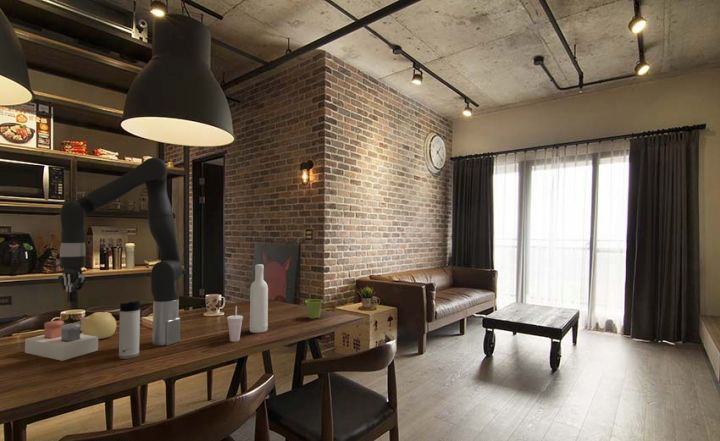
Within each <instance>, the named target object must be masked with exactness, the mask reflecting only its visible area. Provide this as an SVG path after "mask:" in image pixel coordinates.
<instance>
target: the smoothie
mask: <svg viewBox="0 0 720 441" xmlns="http://www.w3.org/2000/svg"><path fill="white" fill-rule="evenodd" d="M234 311H235V315H229V316H227V317H226V320H227V325H228V335H229V341H230V342H239V341H240V338H241V331H242V323H243V320H244V316H243V315H241V314H238V306H237V305H235V310H234Z"/></svg>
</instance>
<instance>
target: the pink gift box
mask: <svg viewBox="0 0 720 441" xmlns="http://www.w3.org/2000/svg"><path fill="white" fill-rule="evenodd" d="M62 325H65V324H64V320H51V321H47V322H44V335H45V336H44V338H48V339H53V338H57V337H61V326H62Z"/></svg>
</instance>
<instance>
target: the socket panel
mask: <svg viewBox="0 0 720 441" xmlns="http://www.w3.org/2000/svg"><path fill="white" fill-rule="evenodd" d="M44 336H45V334H41V335H37V336H34V337H28V338H25V340H24V353H25V354H29V355H34V356H39V357H43V358H49V359H52V360H57V361H58V360H59V361H61V362H62V361H66V360H70V359H73V358H76V357H77V358H78V357H80V356H83V355H86V354H90V353H93V352H94V353H95V352H96V351H99V350H98V349H99V339H98V337H95V336H89V335H84V333H83V334H82V333H80V339H78V340H74V341H70V342H64V341H61V337H57V338H53V339H48V338H44Z"/></svg>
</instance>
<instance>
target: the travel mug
mask: <svg viewBox="0 0 720 441" xmlns="http://www.w3.org/2000/svg"><path fill="white" fill-rule="evenodd" d="M140 306H141V301H140V300H136V301H135V300H134V301H128V302H125V303H124V302H121V303H120V305H119V308H120V309H119V326H118V327H119V328H118V329H119V330H118V331H119V333H118V334H119V336H118V344H119V345H118V358H119V359H121V360H128V359H133V358H134V359H135V358H136V357H138V356H139V355H140V334H141V332H140V331H141V328H140V327H141V325H140V324H141V323H140V322H141V307H140Z"/></svg>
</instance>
